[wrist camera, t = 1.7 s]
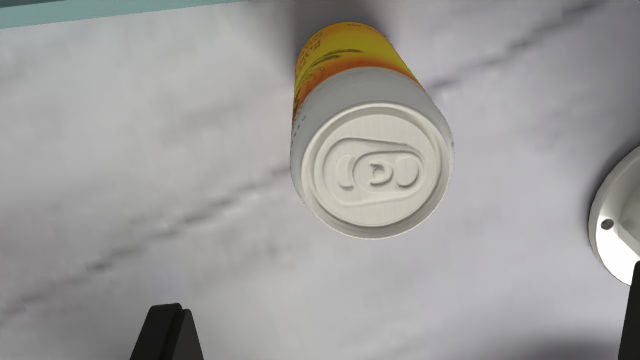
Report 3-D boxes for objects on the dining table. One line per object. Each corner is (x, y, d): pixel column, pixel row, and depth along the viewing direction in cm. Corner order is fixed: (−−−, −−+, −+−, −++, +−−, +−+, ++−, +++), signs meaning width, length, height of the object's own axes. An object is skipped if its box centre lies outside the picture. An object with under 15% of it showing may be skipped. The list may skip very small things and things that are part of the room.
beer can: (294, 20, 31) (286, 92, 17) (399, 18, 31) (472, 89, 18) (297, 120, 34) (291, 250, 20) (393, 118, 34) (453, 247, 20)
